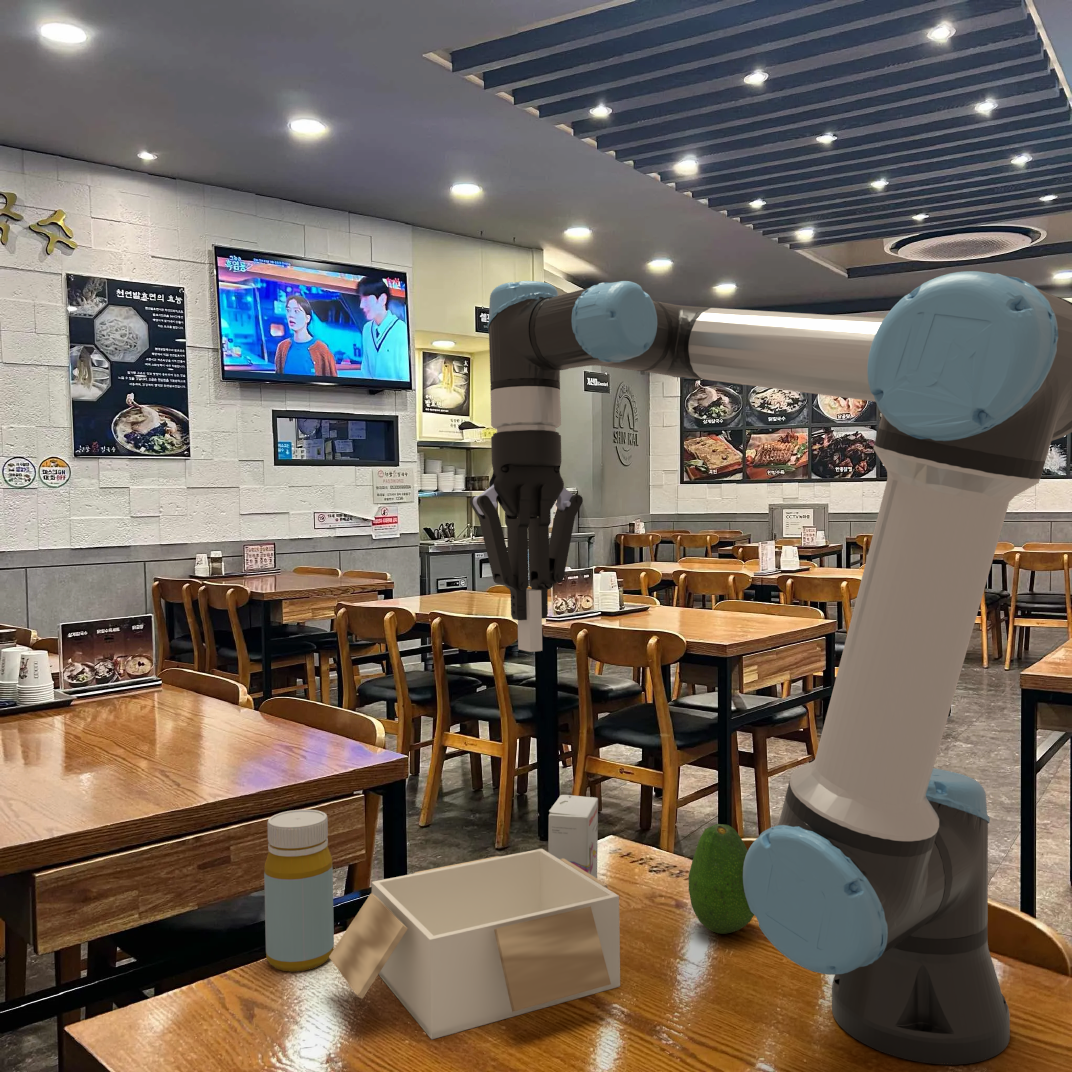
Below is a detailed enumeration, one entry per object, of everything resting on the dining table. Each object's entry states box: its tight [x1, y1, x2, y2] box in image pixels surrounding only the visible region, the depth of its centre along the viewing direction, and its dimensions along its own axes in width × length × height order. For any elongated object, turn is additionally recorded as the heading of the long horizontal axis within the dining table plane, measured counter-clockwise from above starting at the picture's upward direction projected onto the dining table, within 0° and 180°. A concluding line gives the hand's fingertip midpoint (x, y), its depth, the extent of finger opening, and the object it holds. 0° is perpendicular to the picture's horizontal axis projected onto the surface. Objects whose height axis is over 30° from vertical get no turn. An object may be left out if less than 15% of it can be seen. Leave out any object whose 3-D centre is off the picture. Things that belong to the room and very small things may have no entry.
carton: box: [371, 848, 621, 1040], centre depth 101 cm, size 17×21×9 cm
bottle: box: [263, 809, 335, 973], centre depth 105 cm, size 7×7×15 cm
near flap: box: [494, 906, 611, 1012], centre depth 91 cm, size 1×10×7 cm, turn 118°
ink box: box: [547, 794, 599, 879], centre depth 119 cm, size 9×5×12 cm, turn 168°
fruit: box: [688, 823, 755, 935], centre depth 110 cm, size 8×8×12 cm
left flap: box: [329, 892, 408, 999], centre depth 94 cm, size 9×1×7 cm
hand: (530, 649), depth 107 cm, fingers closed
